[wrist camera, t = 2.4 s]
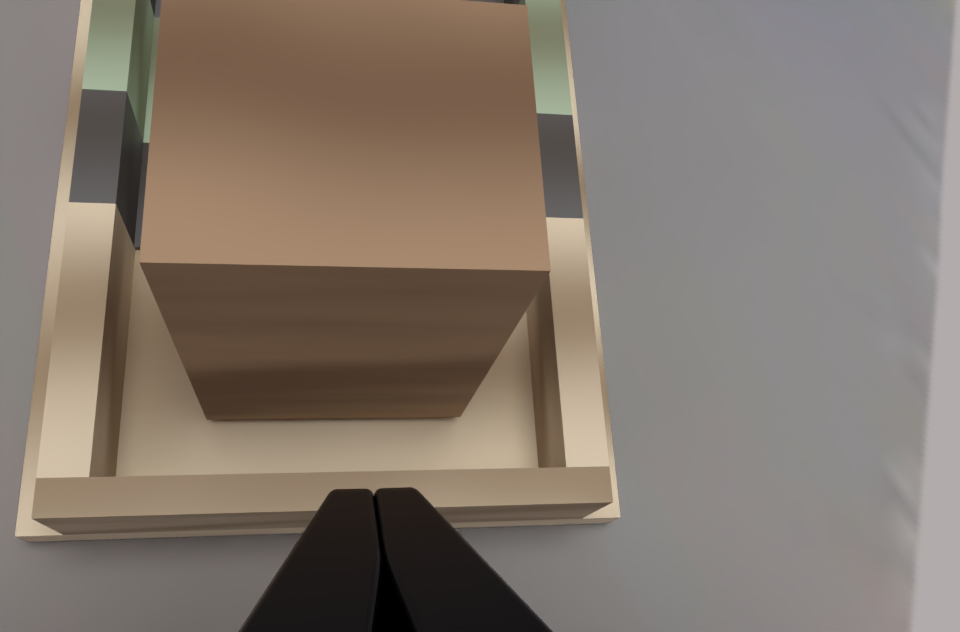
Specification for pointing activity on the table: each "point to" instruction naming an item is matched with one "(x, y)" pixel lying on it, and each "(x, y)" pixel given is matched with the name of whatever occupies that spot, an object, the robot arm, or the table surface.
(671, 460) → the table surface
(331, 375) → the walnut block
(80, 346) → the beige flat tray
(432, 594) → the robot arm
